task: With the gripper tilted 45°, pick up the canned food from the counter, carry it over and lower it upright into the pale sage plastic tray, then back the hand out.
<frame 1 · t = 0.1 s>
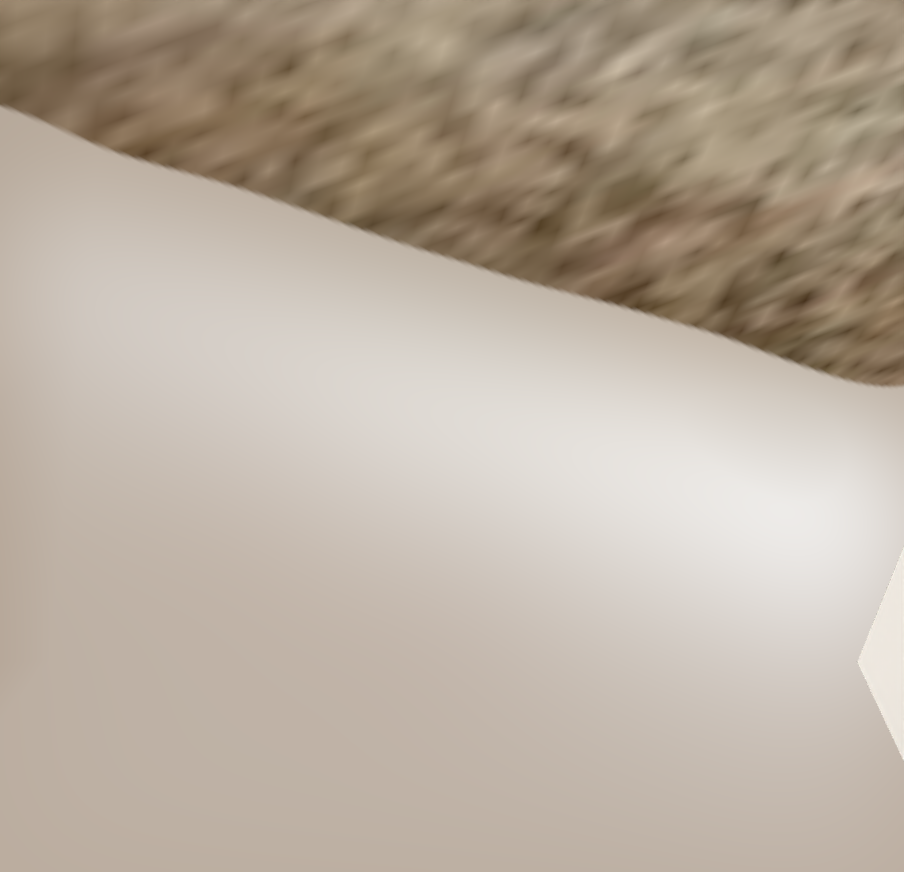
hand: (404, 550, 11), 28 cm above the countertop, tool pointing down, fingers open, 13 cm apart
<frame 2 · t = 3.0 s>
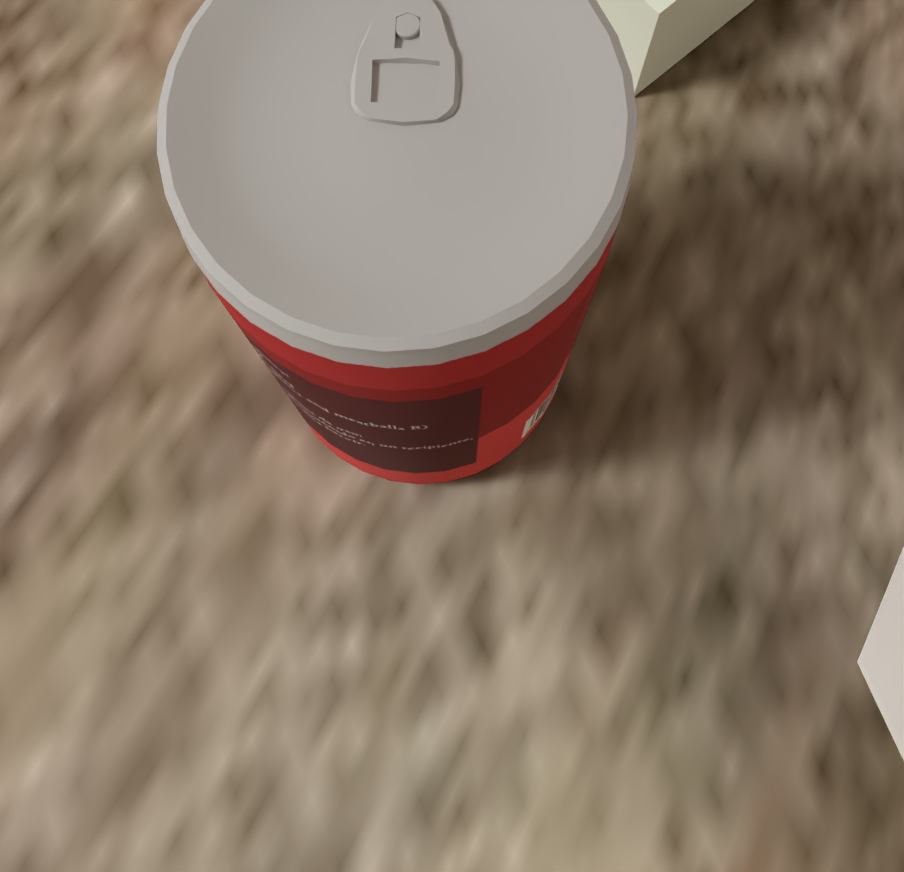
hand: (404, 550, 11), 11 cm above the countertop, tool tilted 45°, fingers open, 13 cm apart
canned food: (425, 353, 24), on the countertop
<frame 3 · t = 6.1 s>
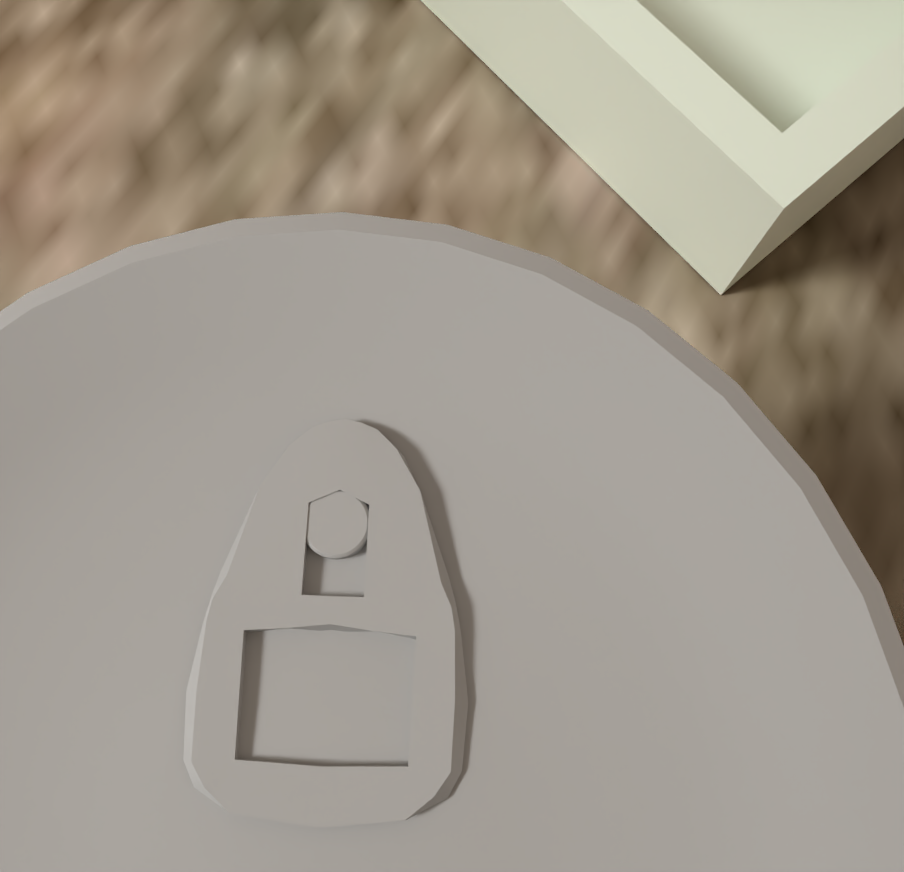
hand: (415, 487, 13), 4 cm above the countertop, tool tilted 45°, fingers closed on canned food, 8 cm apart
canned food: (410, 707, 16), on the countertop, touching gripper
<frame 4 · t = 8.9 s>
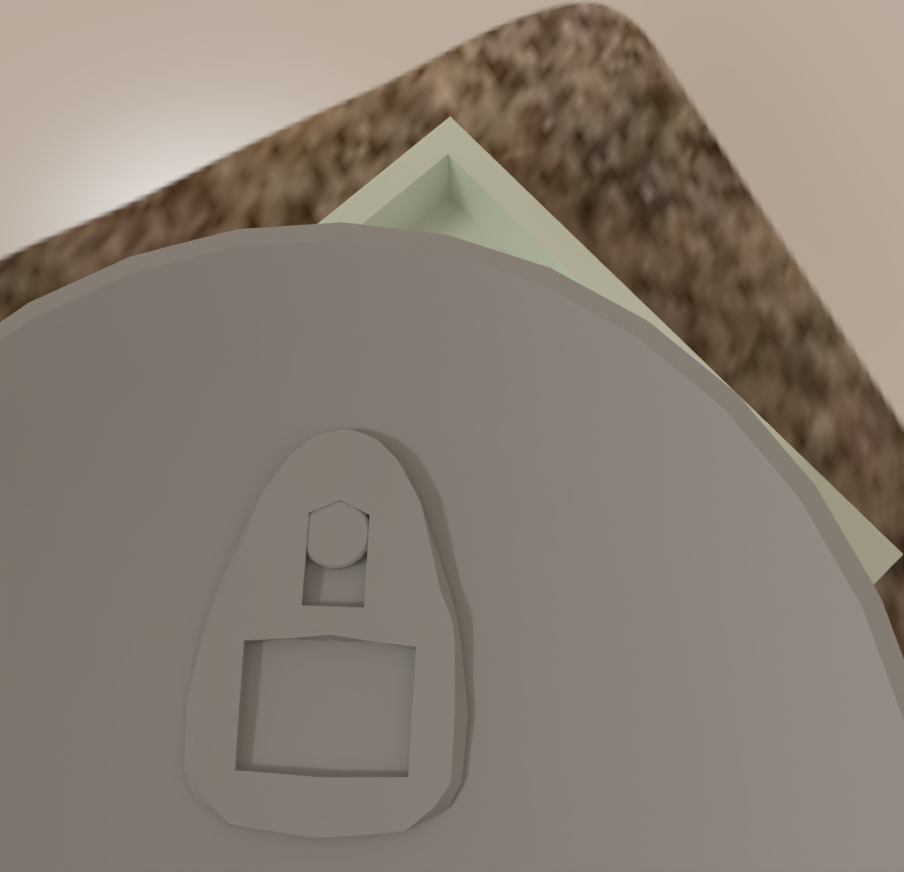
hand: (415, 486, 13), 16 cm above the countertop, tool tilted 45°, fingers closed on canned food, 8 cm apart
canned food: (410, 711, 16), point 13 cm above the countertop, touching gripper
tray: (431, 544, 29), on the countertop
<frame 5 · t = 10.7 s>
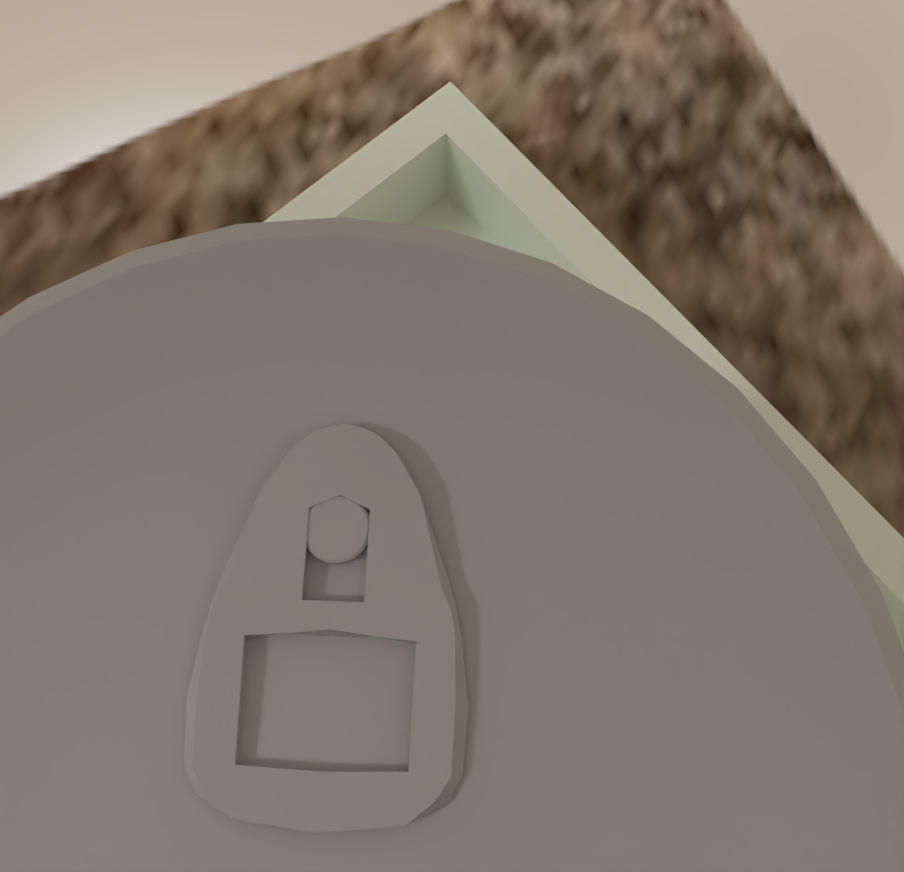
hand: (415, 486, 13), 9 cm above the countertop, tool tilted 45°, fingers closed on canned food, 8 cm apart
canned food: (410, 709, 16), point 5 cm above the countertop, touching gripper
tray: (406, 686, 20), on the countertop
when the fingers open (6 cm above the countertop, at t = 12.1 s): canned food drops 1 cm, resting on tray.
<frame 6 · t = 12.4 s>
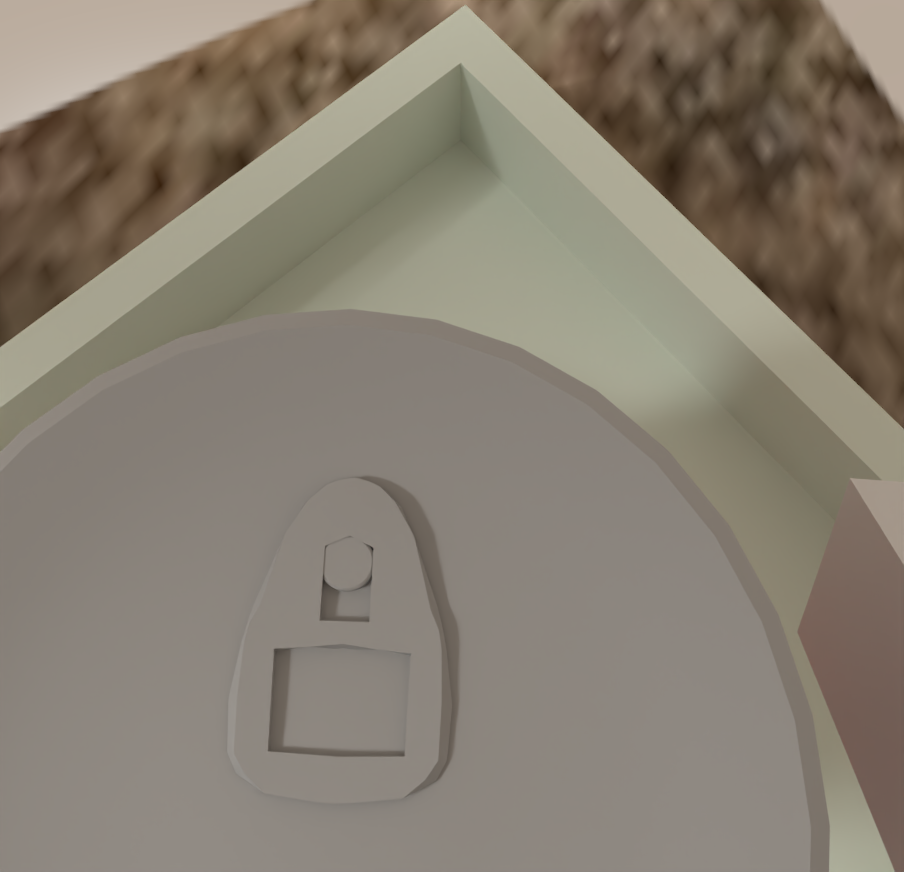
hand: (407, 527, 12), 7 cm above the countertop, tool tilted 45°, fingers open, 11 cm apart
canned food: (409, 707, 17), point 1 cm above the countertop, touching tray
tray: (416, 701, 18), on the countertop
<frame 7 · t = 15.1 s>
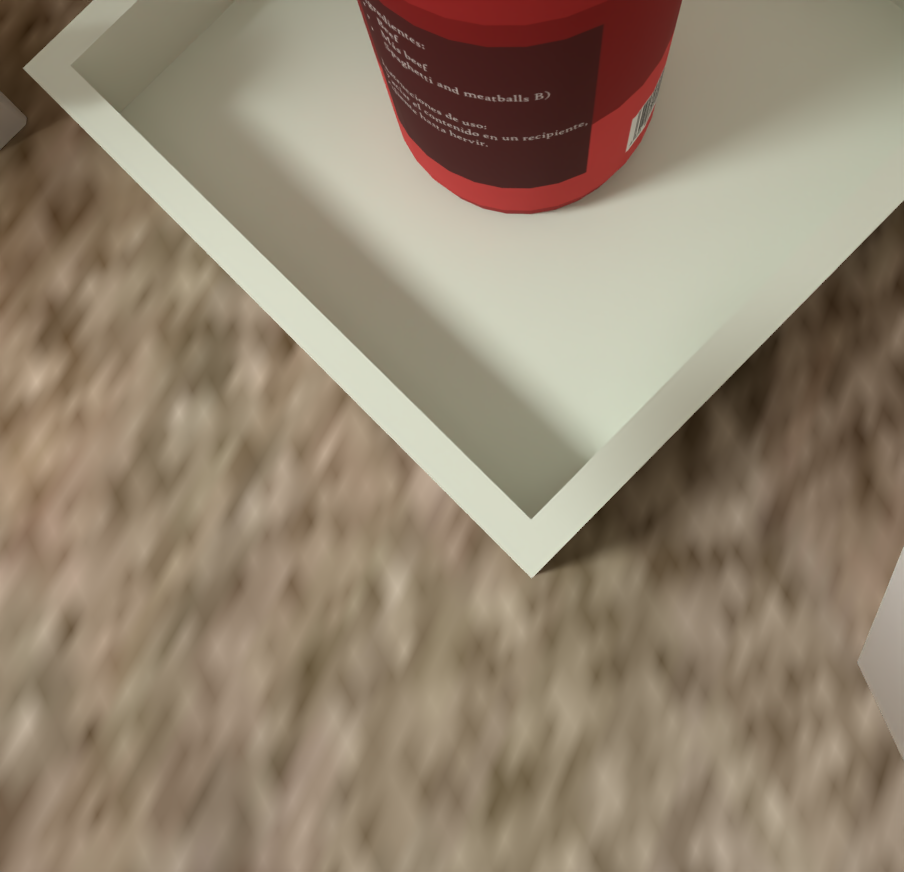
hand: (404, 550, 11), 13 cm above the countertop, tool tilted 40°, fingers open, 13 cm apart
canned food: (524, 99, 25), point 1 cm above the countertop, touching tray
lighter: (3, 131, 28), on the countertop
tray: (527, 107, 26), on the countertop
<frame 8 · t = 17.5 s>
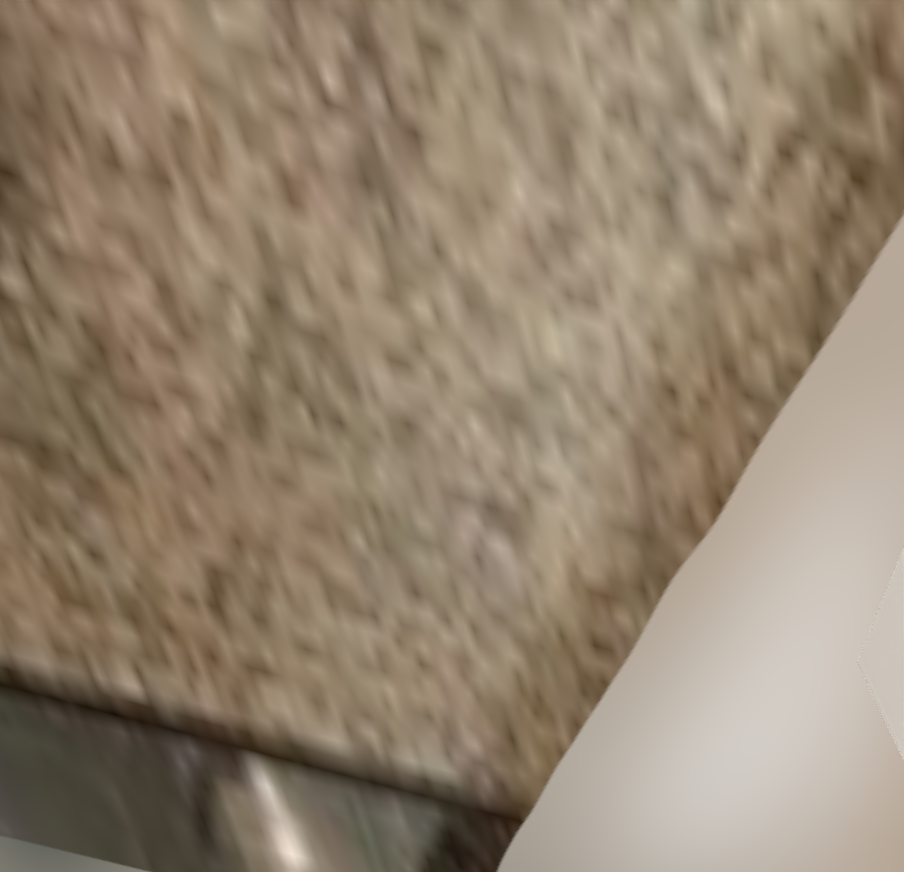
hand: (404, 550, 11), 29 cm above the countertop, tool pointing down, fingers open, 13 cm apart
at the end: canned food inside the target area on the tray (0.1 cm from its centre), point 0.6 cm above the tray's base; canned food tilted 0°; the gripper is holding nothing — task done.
